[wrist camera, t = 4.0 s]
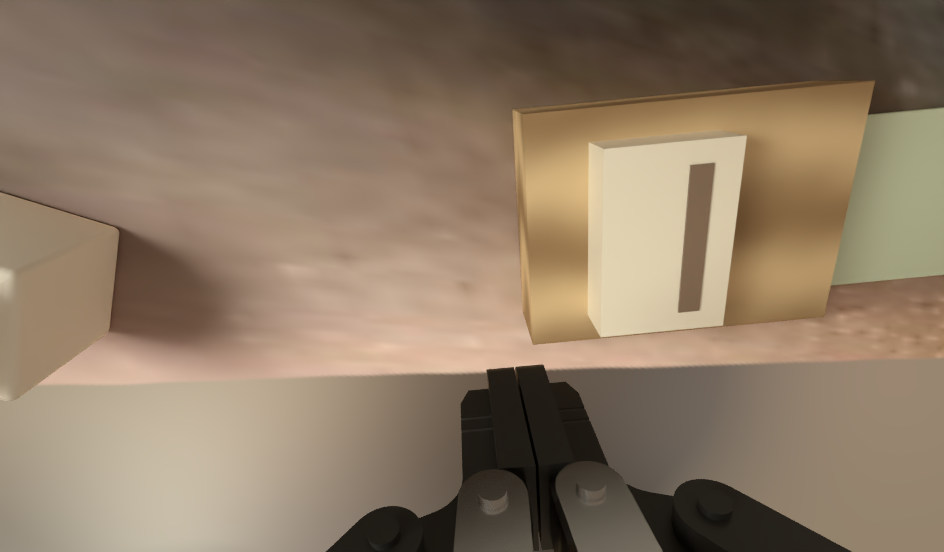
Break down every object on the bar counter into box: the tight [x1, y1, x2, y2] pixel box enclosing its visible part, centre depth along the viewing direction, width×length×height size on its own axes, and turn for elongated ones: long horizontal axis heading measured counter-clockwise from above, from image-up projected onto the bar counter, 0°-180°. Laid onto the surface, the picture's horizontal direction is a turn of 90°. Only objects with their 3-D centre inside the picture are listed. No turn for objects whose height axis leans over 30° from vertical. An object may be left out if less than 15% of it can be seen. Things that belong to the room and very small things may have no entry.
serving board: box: [512, 81, 875, 345], centre depth 26 cm, size 12×16×4 cm
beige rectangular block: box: [588, 130, 747, 337], centre depth 23 cm, size 9×6×2 cm, turn 5°
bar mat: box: [831, 107, 944, 285], centre depth 28 cm, size 10×12×1 cm
